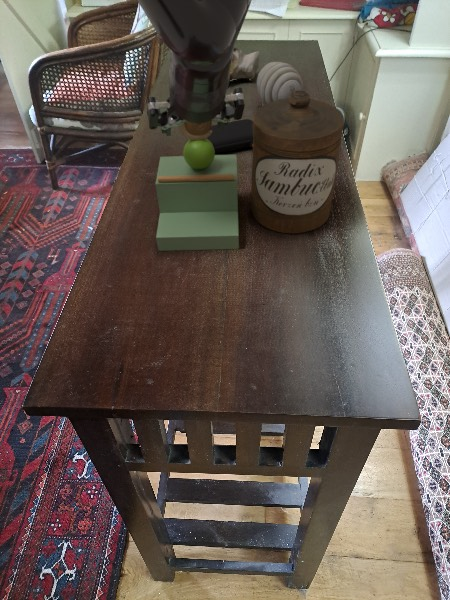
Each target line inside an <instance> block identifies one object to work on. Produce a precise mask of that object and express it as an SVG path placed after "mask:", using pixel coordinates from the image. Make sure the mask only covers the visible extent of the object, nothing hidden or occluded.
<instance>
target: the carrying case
mask: <svg viewBox="0 0 450 600" xmlns="http://www.w3.org/2000/svg"><path fill="white" fill-rule="evenodd" d="M209 130H212V133H211V135H210V136H209V137H208V138H206V139H208V140H209V141H210V142H211V143H212V145H213V147H214V150H215V155H218V154H221V153H222V154H223V153H226V152H227V153H228V152H232V151H237V150H243V149H246V148H253V119H250V118H244V119H240V120H234V121H229V122H228V124H227V126H226V127H223V130H218V125H217V124H212V125H211V128H210V129H209Z"/></svg>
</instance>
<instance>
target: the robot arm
mask: <svg viewBox="0 0 450 600" xmlns="http://www.w3.org/2000/svg"><path fill="white" fill-rule="evenodd" d="M136 1H137V3H138V5H139V6H140V7H141V10H142V11H143V12H144V14H145V16H146V17H147V19H148V20H149V22H150V23H151V26H152V27H153V28H154V30H155V32H156V33H157V35H158V36H159V37H160V39H161V40H162V42H163V43H164V44H165V45H166V46H167V48H168V49H169V50H170V63H169V67H168V86H169V87H168V88H169V91H168V92H169V97H167V98H166V101H159V100H157V99H156V97H155V96H149V97H147V98H146V114H147V120H148V128H149V130H157V129H158V127H160V129H161V133H162V134H165V135H166V137H170V136H172V129H171V128H172V127H176V128H178V126H180V125H182V124H183V123H185V122H191V123H205V122H208V121H210V120H211V121H212V122H214V123H216V125H218V130H223V127H226V126H227V124H228V122H231V119H234V121H238V120H242V118H243V115H244V110H245V106H246V104H245V98H244V91H243V88H242V87H235V88H234V89H233V92H230V94H227V91H228V89H229V88H230V82H229V78H230V67H231V63H232V59H233V51H234V48H236V43H237V41H238V37H239V35H240V33H241V30H242V27H243V25H244V22H245V20H246V17H247V14H248V12H249V9H250V6H251V4H252V1H253V0H136Z"/></svg>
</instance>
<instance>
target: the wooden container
mask: <svg viewBox="0 0 450 600" xmlns="http://www.w3.org/2000/svg"><path fill="white" fill-rule="evenodd" d="M252 121H253V147H252V162H251V163H252V164H251V190H250V191H251V192H250V193H251V195H250V196H251V197H250V202H251V203H250V205H251V207H250V209H251V214H252V216H253V218H254V219H255V220H256V222H257V223H258V224H260V225H261V226H262V227H264V228H266V229H268V230H270V231H274V232H278V233H283V234H303V233H308V232H311V231H313V230H314V231H315V230H316V229H318V228H320V227H321V226H323V225H324V224H325V223H326V222H327V221H328V219H329V218H330V214H331V209H332V202H333V198H334V193H335V186H336V181H337V173H338V165H339V158H340V152H341V145H342V143H341V142H342V137H343V130H344V123H345V118H344V115H343V112H341V110H339V109H338V108H337V107H336V106H334V105H332V104H330V103H327V102H325V101H323V100H319V99H313V98H311V94H309V92H306V91H304V90H302V91H301V90H297V91H295V92H294V93H292V94H291V95H290V96H289V98H286V99H280V100H276V101H272V102H270V103H267V104H265V105H263V106H262V105H261V106H260V107H259V108H257V109H256V111H255V112H254V114H253V116H252Z"/></svg>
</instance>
